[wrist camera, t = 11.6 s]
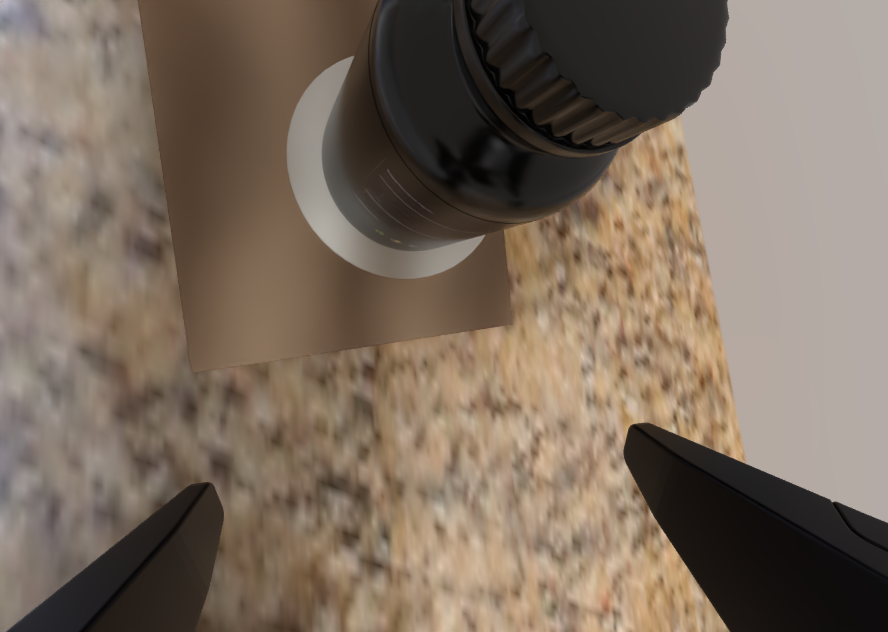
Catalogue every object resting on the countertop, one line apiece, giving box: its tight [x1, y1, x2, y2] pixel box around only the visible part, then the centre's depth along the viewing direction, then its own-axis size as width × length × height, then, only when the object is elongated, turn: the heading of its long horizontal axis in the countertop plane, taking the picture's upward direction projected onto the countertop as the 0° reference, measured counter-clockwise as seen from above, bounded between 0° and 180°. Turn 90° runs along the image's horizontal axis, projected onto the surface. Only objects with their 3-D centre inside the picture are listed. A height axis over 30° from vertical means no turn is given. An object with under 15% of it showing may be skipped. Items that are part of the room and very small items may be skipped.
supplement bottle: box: [322, 0, 729, 251], centre depth 13 cm, size 7×7×12 cm
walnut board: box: [138, 0, 512, 373], centre depth 18 cm, size 13×16×2 cm
